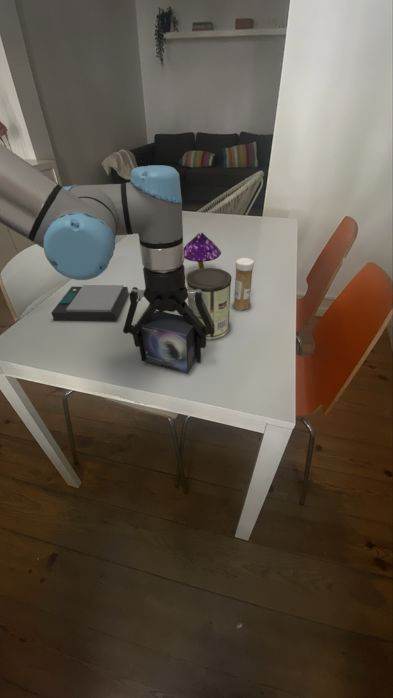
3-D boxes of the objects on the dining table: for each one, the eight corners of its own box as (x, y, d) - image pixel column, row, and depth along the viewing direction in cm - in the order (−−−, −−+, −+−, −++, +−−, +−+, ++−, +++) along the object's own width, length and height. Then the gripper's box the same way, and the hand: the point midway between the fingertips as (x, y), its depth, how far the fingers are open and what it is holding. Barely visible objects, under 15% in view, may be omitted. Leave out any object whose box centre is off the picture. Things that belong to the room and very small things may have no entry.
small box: (143, 363, 70) (137, 324, 64) (157, 346, 75) (152, 308, 69) (187, 375, 67) (185, 334, 61) (198, 356, 72) (198, 317, 65)
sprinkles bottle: (250, 310, 87) (255, 263, 79) (234, 311, 87) (237, 264, 79) (247, 302, 91) (252, 256, 83) (232, 302, 91) (234, 257, 83)
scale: (53, 320, 85) (50, 310, 83) (73, 293, 97) (70, 283, 95) (116, 321, 84) (114, 310, 82) (128, 294, 96) (127, 284, 94)
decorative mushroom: (186, 270, 109) (185, 225, 100) (222, 272, 107) (224, 227, 98) (177, 286, 99) (174, 238, 90) (217, 289, 97) (218, 241, 88)
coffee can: (198, 314, 86) (197, 264, 78) (234, 322, 83) (237, 271, 74) (181, 334, 79) (178, 282, 70) (219, 344, 76) (221, 290, 67)
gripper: (229, 256, 60) (225, 348, 73) (104, 256, 61) (122, 346, 74) (230, 274, 54) (225, 369, 67) (92, 273, 55) (114, 367, 68)
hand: (171, 357), depth 71 cm, fingers closed on small box, 11 cm apart
